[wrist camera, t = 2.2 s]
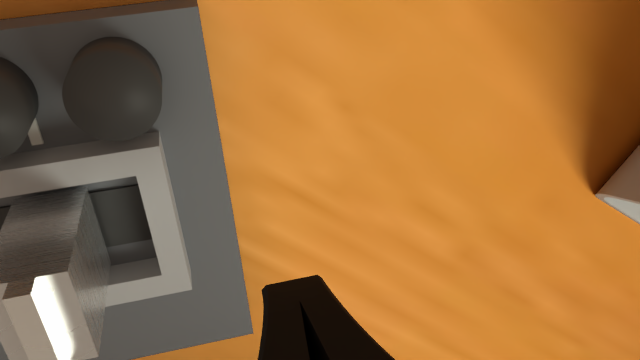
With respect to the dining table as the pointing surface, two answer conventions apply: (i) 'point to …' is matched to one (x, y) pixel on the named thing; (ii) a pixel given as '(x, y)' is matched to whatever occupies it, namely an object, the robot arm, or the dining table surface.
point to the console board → (129, 164)
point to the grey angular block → (624, 188)
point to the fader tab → (52, 277)
